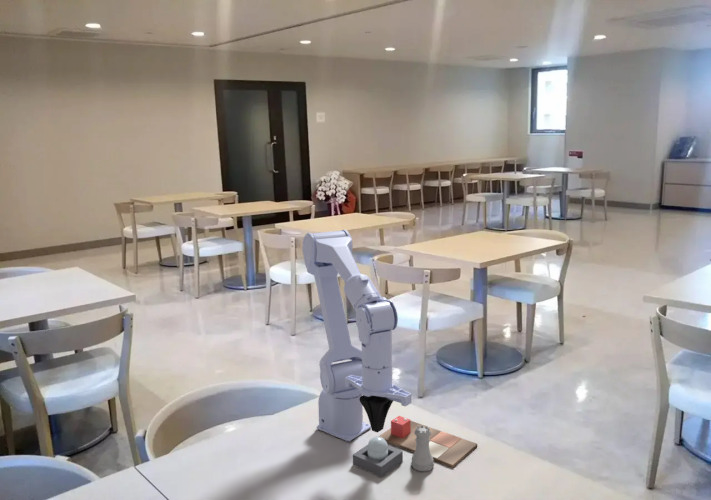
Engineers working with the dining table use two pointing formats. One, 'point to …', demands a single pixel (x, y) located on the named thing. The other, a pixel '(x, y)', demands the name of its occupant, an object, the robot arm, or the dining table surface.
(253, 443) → the dining table surface
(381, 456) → the dome button
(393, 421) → the red die
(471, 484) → the dining table surface
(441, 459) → the game board
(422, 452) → the rook chess piece
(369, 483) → the dining table surface
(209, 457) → the dining table surface
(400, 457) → the dome housing
